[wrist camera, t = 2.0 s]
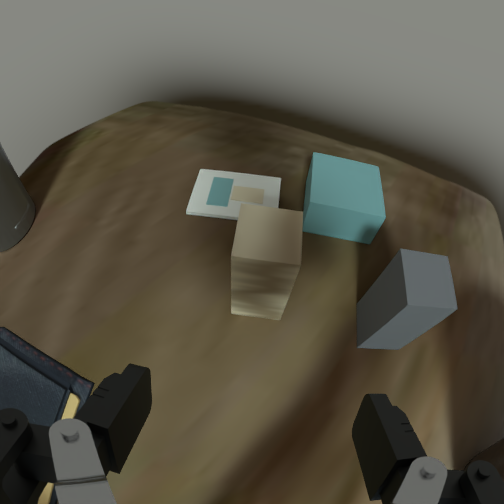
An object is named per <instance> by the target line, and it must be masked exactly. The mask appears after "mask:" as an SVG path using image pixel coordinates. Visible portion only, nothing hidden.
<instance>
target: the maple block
mask: <svg viewBox="0 0 504 504" xmlns="http://www.w3.org/2000/svg"><path fill="white" fill-rule="evenodd" d="M302 230H303V212H301V211H294V210H287V209H280V208H273V207H266V206H258V205H250V204H242V203H241V206H240V211H239V217H238V222H237V227H236V232H235V237H234V243H233V248H232V253H231V314H237V315H244V316H252V317H259V318H267V319H275V320H280V319H281V316H282V314H283V311H284V309H285V306H286V304H287V301H288V299H289V296H290V293H291V291H292V288H293V285H294V283H295V280H296V277H297V275H298V272H299V269H300V267H301V255H302Z"/></svg>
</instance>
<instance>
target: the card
mask: <svg viewBox="0 0 504 504" xmlns="http://www.w3.org/2000/svg"><path fill="white" fill-rule="evenodd" d="M280 183H281V178H276V177H269V176H261V175H253V174H245V173H236V172H227V171H218V170H208V169H200V171H199V174H198V177H197V180H196V183H195V186H194V189H193V192H192V195H191V198H190V201H189V204H188V207H187V210H186V214H190V215H198V216H207V217H215V218H223V219H231V220H238V217H239V211H240V206H241V203H242V204H250V205H258V206H266V207H273V208H278V205H279V194H280Z"/></svg>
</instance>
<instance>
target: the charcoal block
mask: <svg viewBox="0 0 504 504" xmlns="http://www.w3.org/2000/svg"><path fill="white" fill-rule="evenodd" d="M456 310H457V302H456V296H455V291H454V285H453V280H452V275H451V270H450V266H449V261H448V257H447V256H442V255H436V254H430V253H424V252H418V251H412V250H406V249H400V250H399V251H398V253H397V254H396V255H395V257H394V258H393V259H392V260H391V262H390V263H389V264H388V266H387V267H386V268H385V270H384V271H383V272H382V273H381V275H380V276H379V277H378V278H377V280H376V281H375V282H374V283H373V285H372V286H371V287H370V288H369V290H368V291H367V292H366V293H365V295H364V296H363V297H362V298H361V299H360V301H359V302H358V303H357V348H373V349H396V350H399V349H400V348H402V347H403V346H405V345H406V344H408V343H410V342H411V341H413V340H414V339H416V338H417V337H419V336H420V335H422V334H423V333H425V332H426V331H428V330H429V329H431V328H432V327H433V326H435V325H436V324H438V323H439V322H441V321H442V320H443V319H445V318H446V317H447V316H449V315H450V314H452V313H453V312H454V311H456Z"/></svg>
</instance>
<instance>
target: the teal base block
mask: <svg viewBox="0 0 504 504" xmlns="http://www.w3.org/2000/svg"><path fill="white" fill-rule="evenodd" d="M385 218H386V216H385V208H384V200H383V193H382V186H381V179H380V173H379V167H377V166H374V165H369V164H365V163H361V162H357V161H353V160H348V159H344V158H339V157H335V156H330V155H325V154H320V153H315V152H313V156H312V160H311V164H310V168H309V172H308V176H307V180H306V189H305V200H304V211H303V230H302V231H303V232H309V233H314V234H319V235H325V236H330V237H335V238H340V239H345V240H350V241H355V242H360V243H366V244H370V243H371V242H372V240H373V239H374V237H375V235H376V234H377V232H378V230H379V228H380V227H381V225H382V223H383V222H384V220H385Z"/></svg>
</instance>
